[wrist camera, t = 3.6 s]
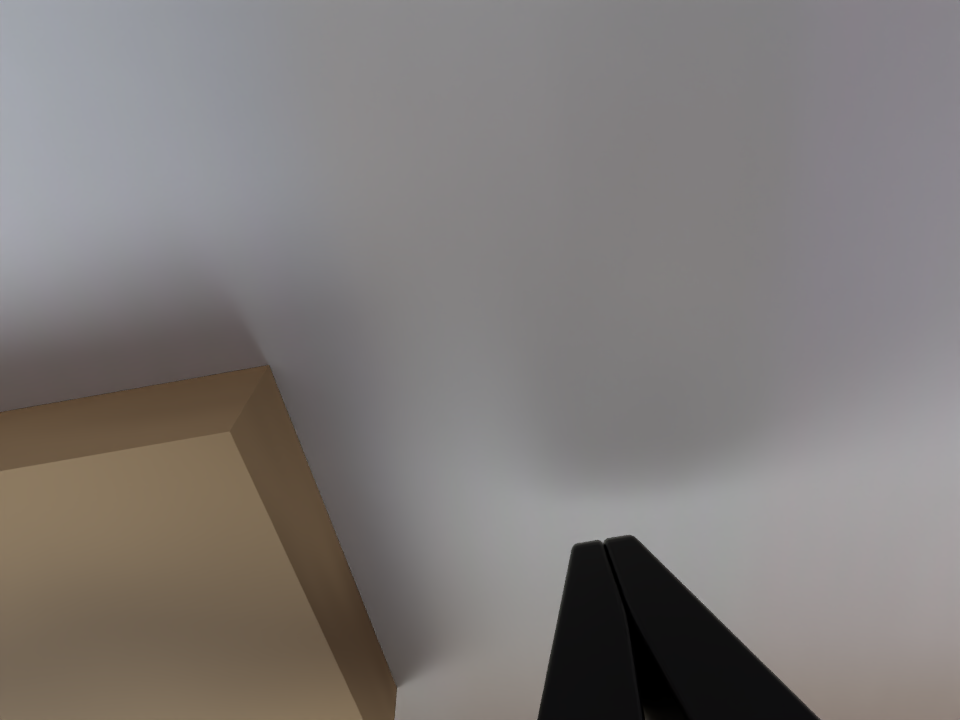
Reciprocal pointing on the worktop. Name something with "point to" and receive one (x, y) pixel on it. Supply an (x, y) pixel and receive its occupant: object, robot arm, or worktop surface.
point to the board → (176, 564)
